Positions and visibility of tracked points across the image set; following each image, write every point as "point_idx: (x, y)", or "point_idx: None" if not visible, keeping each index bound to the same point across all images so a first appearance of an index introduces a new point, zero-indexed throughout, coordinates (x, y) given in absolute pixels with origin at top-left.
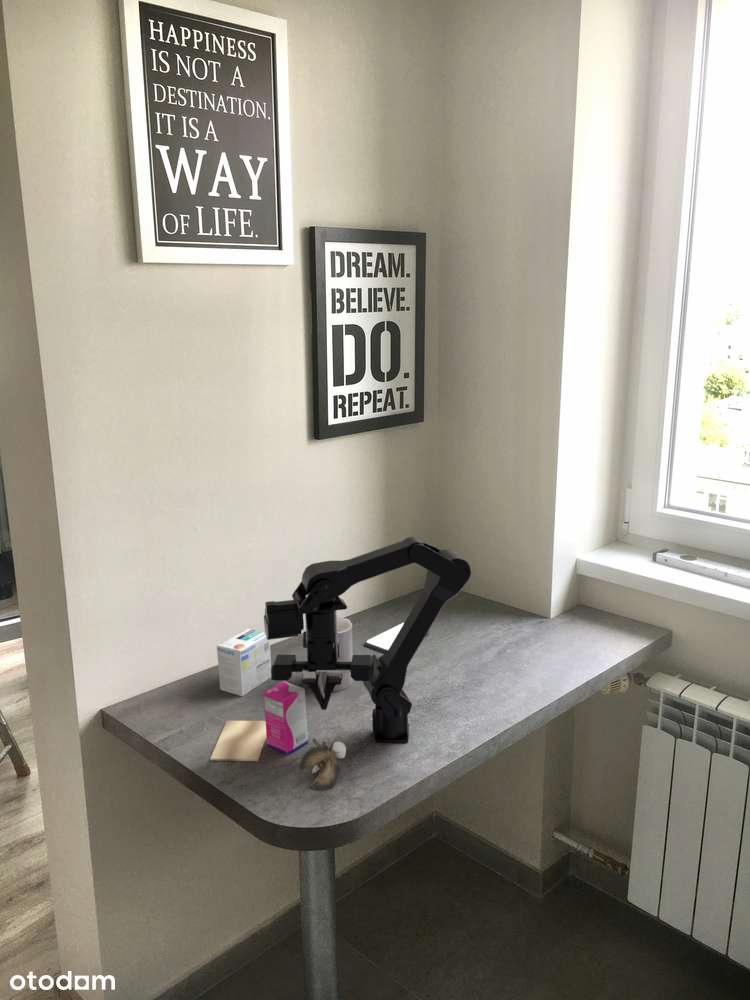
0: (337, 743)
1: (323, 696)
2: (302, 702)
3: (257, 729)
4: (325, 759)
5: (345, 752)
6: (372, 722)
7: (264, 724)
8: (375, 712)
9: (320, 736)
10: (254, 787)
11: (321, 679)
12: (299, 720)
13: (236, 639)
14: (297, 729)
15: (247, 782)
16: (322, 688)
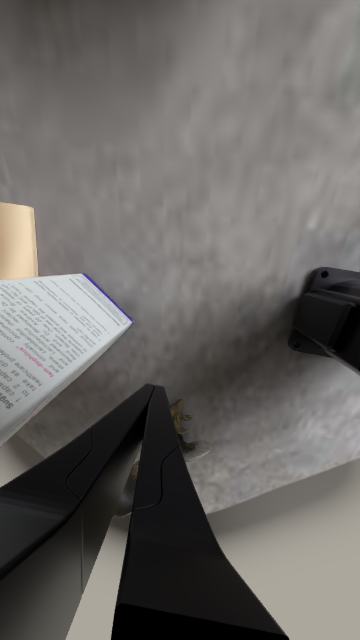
0: (192, 457)
1: (136, 432)
2: (50, 395)
3: (7, 250)
4: None
5: (209, 444)
6: (311, 336)
7: (17, 225)
8: (347, 362)
9: (162, 297)
10: (57, 433)
11: (68, 523)
12: (82, 370)
13: None
14: (91, 363)
15: (43, 420)
16: (114, 464)
